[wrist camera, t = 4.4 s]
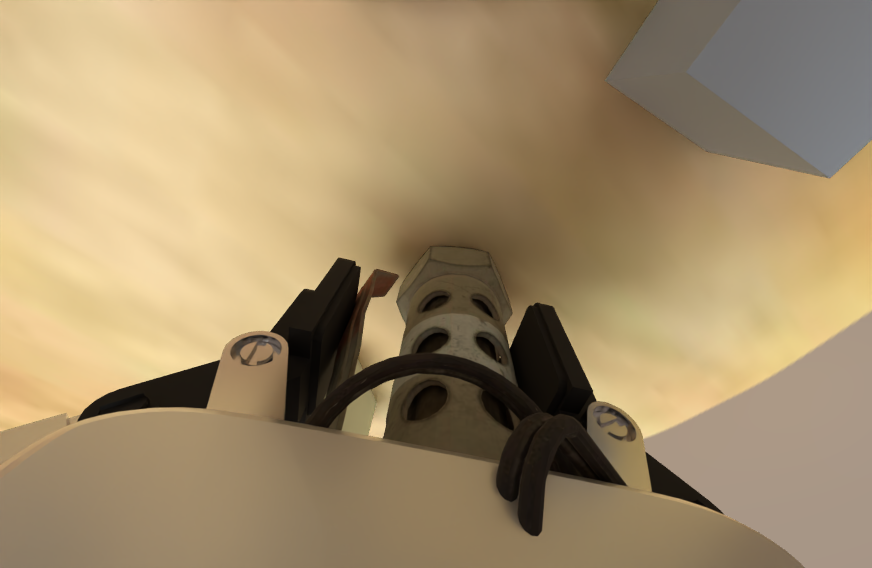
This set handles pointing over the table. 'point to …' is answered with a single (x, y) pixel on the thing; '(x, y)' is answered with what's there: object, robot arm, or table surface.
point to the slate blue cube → (758, 78)
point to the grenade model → (461, 381)
